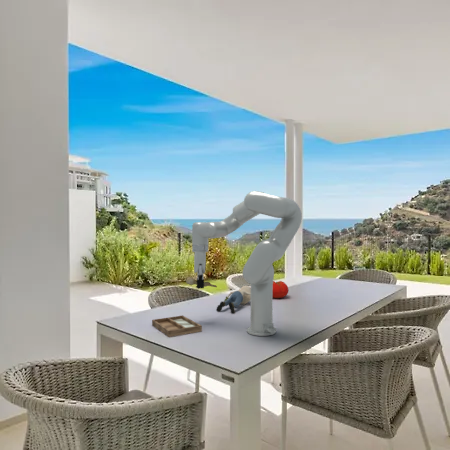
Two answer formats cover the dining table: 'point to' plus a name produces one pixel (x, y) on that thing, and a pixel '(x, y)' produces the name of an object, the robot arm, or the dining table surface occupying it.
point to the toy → (236, 299)
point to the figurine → (192, 281)
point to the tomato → (279, 289)
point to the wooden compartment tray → (176, 326)
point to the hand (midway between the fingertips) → (200, 286)
